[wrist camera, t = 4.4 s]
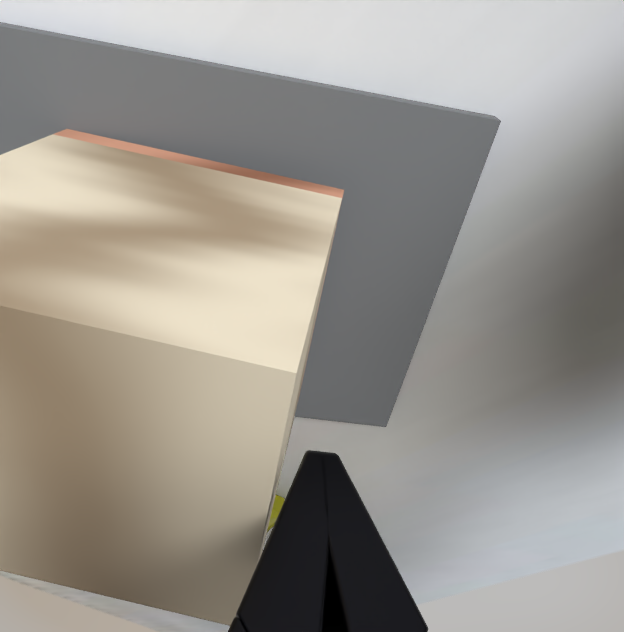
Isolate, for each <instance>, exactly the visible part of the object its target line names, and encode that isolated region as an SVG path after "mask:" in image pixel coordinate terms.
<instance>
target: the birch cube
mask: <svg viewBox="0 0 624 632" xmlns="http://www.w3.org/2000/svg"><path fill="white" fill-rule="evenodd" d="M343 193H344V190H343V189H338V188H334V187H329V186H325V185H320V184H315V183H311V182H306V181H302V180H297V179H293V178H288V177H284V176H279V175H275V174H270V173H266V172H261V171H256V170H252V169H247V168H243V167H238V166H234V165H229V164H225V163H220V162H216V161H211V160H207V159H202V158H197V157H193V156H188V155H184V154H179V153H175V152H170V151H166V150H161V149H157V148H152V147H148V146H143V145H138V144H134V143H129V142H125V141H120V140H116V139H111V138H107V137H102V136H98V135H93V134H89V133H84V132H79V131H75V130H70V129H65V130H62V131H60V132H57V133H55V134H52V135H50V136H47V137H45V138H42V139H40V140H37V141H34V142H32V143H29V144H27V145H24V146H22V147H19V148H17V149H14V150H12V151H9V152H7V153H4V154H2V155H0V571H5V572H9V573H13V574H17V575H21V576H25V577H29V578H34V579H38V580H42V581H46V582H50V583H54V584H59V585H63V586H67V587H71V588H75V589H79V590H84V591H88V592H92V593H96V594H100V595H104V596H109V597H113V598H117V599H121V600H125V601H129V602H134V603H138V604H142V605H146V606H150V607H154V608H159V609H163V610H167V611H171V612H175V613H179V614H183V615H188V616H192V617H196V618H200V619H204V620H208V621H213V622H217V623H221V624H225V625H229V626H231V623H232V621H233V619H234V618H235V617H236V612H237V610H238V608H239V606H240V603H241V601H242V599H243V596H244V594H245V592H246V589H247V587H248V585H249V582H250V580H251V578H252V575H253V573H254V571H255V568H256V566H257V564H258V561H259V559H260V557H261V554H262V550H263V546H264V542H265V537H266V533H267V529H268V525H269V521H270V516H271V512H272V508H273V504H274V500H275V495H276V491H277V487H278V483H279V479H280V474H281V470H282V466H283V462H284V458H285V454H286V449H287V445H288V441H289V437H290V433H291V428H292V424H293V420H294V416H295V412H296V407H297V403H298V399H299V395H300V390H301V385H302V381H303V376H304V372H305V367H306V363H307V358H308V353H309V349H310V344H311V340H312V335H313V330H314V326H315V321H316V317H317V312H318V308H319V303H320V298H321V294H322V289H323V285H324V280H325V276H326V271H327V266H328V262H329V257H330V253H331V248H332V243H333V239H334V234H335V230H336V225H337V221H338V216H339V211H340V207H341V202H342V198H343Z"/></svg>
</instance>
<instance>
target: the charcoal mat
mask: <svg viewBox="0 0 624 632" xmlns="http://www.w3.org/2000/svg"><path fill="white" fill-rule="evenodd" d="M500 122H501V121H500V120H499V119H498V118H496V117H495V116H491V115H485V114H480V113H475V112H470V111H464V110H459V109H454V108H449V107H443V106H438V105H433V104H428V103H422V102H417V101H412V100H406V99H401V98H396V97H391V96H385V95H380V94H375V93H370V92H364V91H359V90H354V89H349V88H343V87H338V86H333V85H328V84H322V83H317V82H312V81H306V80H301V79H296V78H291V77H285V76H280V75H275V74H270V73H264V72H259V71H254V70H249V69H243V68H238V67H233V66H228V65H222V64H217V63H212V62H207V61H201V60H196V59H191V58H185V57H180V56H175V55H170V54H164V53H159V52H154V51H149V50H143V49H138V48H133V47H128V46H122V45H117V44H112V43H107V42H101V41H96V40H91V39H85V38H80V37H75V36H70V35H64V34H59V33H54V32H49V31H43V30H38V29H33V28H28V27H22V26H17V25H12V24H7V23H1V22H0V155H2V154H4V153H7V152H9V151H12V150H14V149H17V148H19V147H22V146H24V145H27V144H29V143H32V142H34V141H37V140H40V139H42V138H45V137H47V136H50V135H52V134H55V133H57V132H60V131H62V130H65V129H70V130H75V131H79V132H84V133H89V134H93V135H98V136H102V137H107V138H111V139H116V140H120V141H125V142H129V143H134V144H138V145H143V146H148V147H152V148H157V149H161V150H166V151H170V152H175V153H179V154H184V155H188V156H193V157H197V158H202V159H207V160H211V161H216V162H220V163H225V164H229V165H234V166H238V167H243V168H247V169H252V170H256V171H261V172H266V173H270V174H275V175H279V176H284V177H288V178H293V179H297V180H302V181H306V182H311V183H315V184H320V185H325V186H329V187H334V188H338V189H343V190H344V193H343V198H342V202H341V207H340V211H339V216H338V221H337V225H336V230H335V234H334V239H333V243H332V248H331V253H330V257H329V262H328V266H327V271H326V276H325V280H324V285H323V289H322V294H321V298H320V303H319V308H318V312H317V317H316V321H315V326H314V330H313V335H312V340H311V344H310V349H309V353H308V358H307V363H306V367H305V372H304V376H303V381H302V385H301V390H300V395H299V399H298V403H297V407H296V412H295V417H304V418H313V419H321V420H330V421H338V422H347V423H355V424H364V425H373V426H381V427H386V426H387V423H388V420H389V418H390V415H391V412H392V410H393V407H394V404H395V402H396V399H397V396H398V394H399V391H400V388H401V386H402V383H403V380H404V378H405V375H406V372H407V370H408V367H409V364H410V362H411V359H412V356H413V354H414V351H415V348H416V346H417V343H418V340H419V338H420V335H421V332H422V330H423V327H424V325H425V322H426V319H427V317H428V314H429V311H430V309H431V306H432V303H433V301H434V298H435V295H436V293H437V290H438V287H439V285H440V282H441V279H442V277H443V274H444V271H445V269H446V266H447V263H448V261H449V258H450V255H451V253H452V250H453V247H454V245H455V242H456V239H457V237H458V234H459V231H460V229H461V226H462V223H463V221H464V218H465V215H466V213H467V210H468V207H469V205H470V202H471V199H472V197H473V194H474V191H475V189H476V186H477V183H478V181H479V178H480V175H481V173H482V170H483V167H484V165H485V162H486V159H487V157H488V154H489V151H490V149H491V146H492V143H493V141H494V138H495V135H496V133H497V130H498V127H499V125H500Z"/></svg>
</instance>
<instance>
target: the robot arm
mask: <svg viewBox="0 0 624 632" xmlns="http://www.w3.org/2000/svg"><path fill="white" fill-rule="evenodd" d="M427 631H428V627H427V625H426V623H425V621H424V619H423V617H422V615H421V613H420V611H419V610H418V607H417V606H416V604H415V602H414V600H413V598H412V596H411V594H410V592H409V590H408V588H407V586H406V584H405V582H404V581H403V579H402V577H401V575H400V573H399V571H398V569H397V567H396V565H395V563H394V561H393V559H392V557H391V556H390V554H389V552H388V550H387V548H386V546H385V544H384V542H383V540H382V538H381V536H380V534H379V533H378V531H377V529H376V527H375V525H374V523H373V521H372V519H371V517H370V515H369V513H368V511H367V509H366V508H365V506H364V504H363V502H362V500H361V498H360V496H359V494H358V492H357V490H356V488H355V486H354V485H353V483H352V481H351V479H350V477H349V475H348V473H347V471H346V469H345V467H344V465H343V463H342V461H341V460H340V458H339V456H338V455H337V454H335V453H328V452H319V451H310V450H309V451H307V452H306V453H305V455H304V457H303V459H302V462H301V464H300V466H299V469H298V471H297V473H296V476H295V478H294V480H293V483H292V485H291V487H290V489H289V492H288V494H287V496H286V499H285V501H284V503H283V506H282V508H281V510H280V513H279V515H278V517H277V520H276V522H275V524H274V527H273V529H272V531H271V534H270V536H269V538H268V541H267V543H266V545H265V548H264V550H263V552H262V554H261V557H260V559H259V561H258V564H257V566H256V568H255V571H254V573H253V575H252V578H251V580H250V582H249V585H248V587H247V589H246V592H245V594H244V596H243V599H242V601H241V603H240V606H239V608H238V610H237V612H236V617H235V618H234V619H233V621H232V623H231V626H230V628H229V630H228V632H427Z"/></svg>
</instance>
